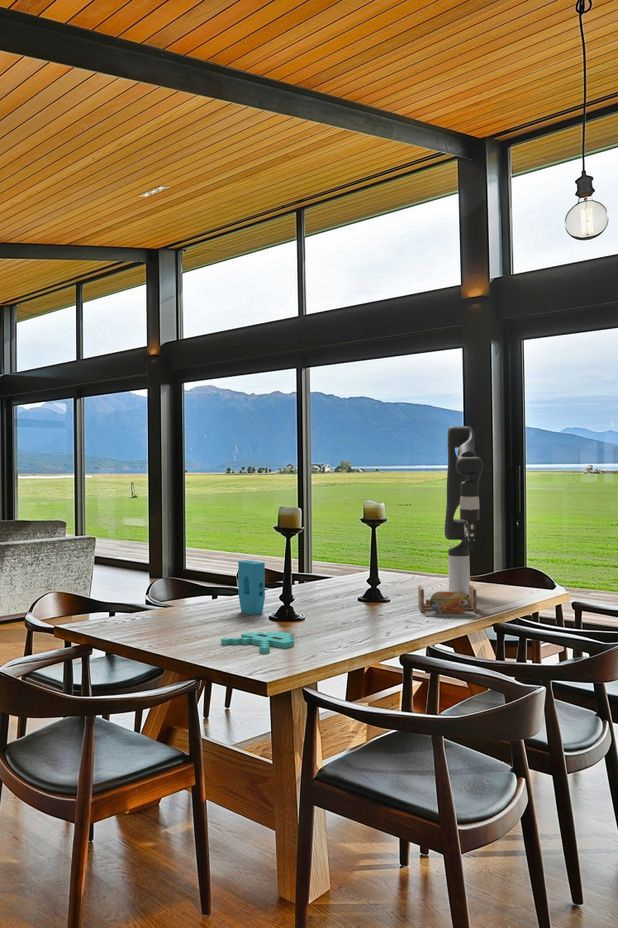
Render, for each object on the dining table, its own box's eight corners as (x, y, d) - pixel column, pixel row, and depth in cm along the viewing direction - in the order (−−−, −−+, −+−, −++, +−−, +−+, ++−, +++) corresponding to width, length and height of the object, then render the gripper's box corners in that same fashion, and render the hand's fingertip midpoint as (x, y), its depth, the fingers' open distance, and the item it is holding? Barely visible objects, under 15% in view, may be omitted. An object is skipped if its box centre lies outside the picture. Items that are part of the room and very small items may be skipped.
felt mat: (424, 613, 302) (424, 611, 302) (473, 613, 301) (473, 611, 301) (426, 616, 295) (426, 615, 295) (476, 616, 294) (476, 615, 294)
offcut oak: (427, 603, 314) (427, 599, 314) (439, 604, 312) (439, 600, 312) (425, 604, 312) (425, 600, 312) (437, 605, 309) (437, 600, 309)
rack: (418, 607, 314) (418, 585, 314) (472, 607, 313) (471, 585, 313) (420, 612, 303) (420, 589, 303) (476, 612, 302) (476, 589, 302)
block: (237, 611, 310) (237, 561, 310) (247, 609, 313) (247, 560, 313) (255, 615, 301) (255, 563, 301) (266, 613, 304) (265, 562, 304)
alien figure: (264, 655, 240) (307, 643, 255) (264, 648, 240) (307, 636, 255) (221, 645, 254) (264, 635, 269) (221, 639, 254) (264, 628, 269)
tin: (430, 613, 298) (429, 591, 298) (429, 612, 301) (429, 590, 301) (470, 613, 297) (469, 591, 297) (468, 612, 300) (468, 590, 300)
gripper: (457, 506, 314) (458, 546, 314) (462, 509, 299) (462, 551, 300) (476, 506, 313) (476, 546, 314) (481, 509, 299) (482, 551, 299)
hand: (469, 548), depth 307 cm, fingers open, 8 cm apart
